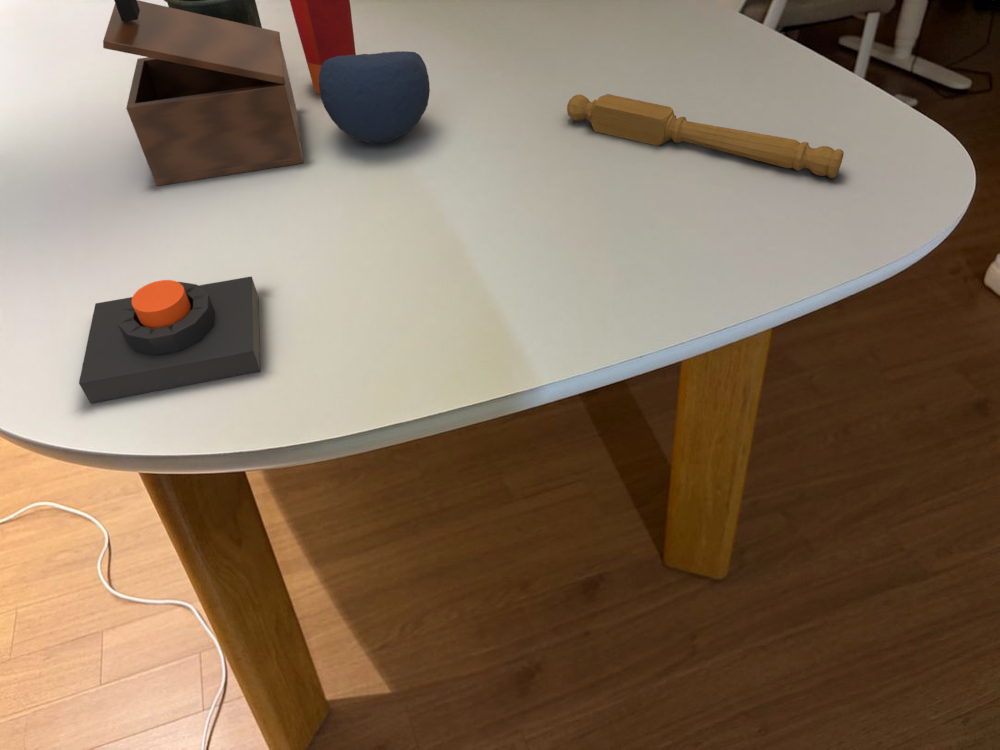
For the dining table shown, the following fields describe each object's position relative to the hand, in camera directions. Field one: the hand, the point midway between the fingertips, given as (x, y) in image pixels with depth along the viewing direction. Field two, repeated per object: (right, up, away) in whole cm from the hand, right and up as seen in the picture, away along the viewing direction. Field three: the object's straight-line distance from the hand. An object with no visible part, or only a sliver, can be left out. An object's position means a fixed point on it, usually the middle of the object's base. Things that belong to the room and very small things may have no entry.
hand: (131, 15), depth 80 cm
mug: (+2, +3, +25) cm, 25 cm away
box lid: (+6, -1, +3) cm, 7 cm away
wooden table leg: (+58, -11, +7) cm, 59 cm away
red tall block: (+16, +1, +22) cm, 27 cm away
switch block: (+10, -33, -13) cm, 37 cm away
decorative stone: (+23, -9, +12) cm, 28 cm away
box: (+6, -10, +11) cm, 16 cm away
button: (+10, -31, -16) cm, 36 cm away
